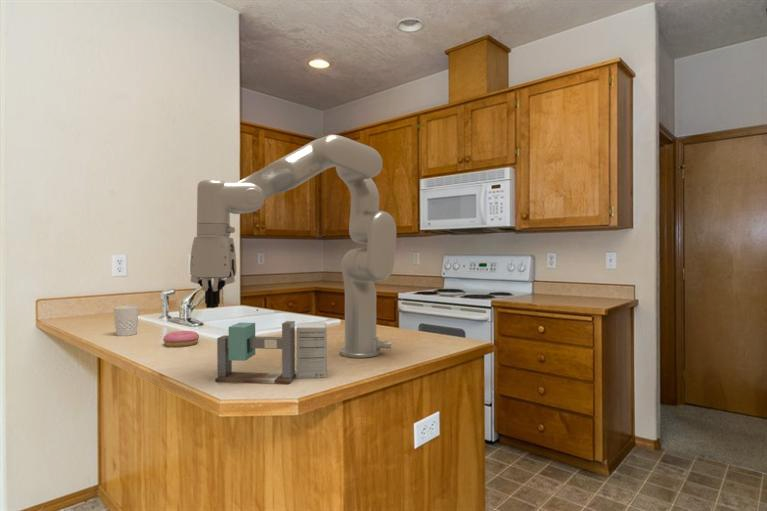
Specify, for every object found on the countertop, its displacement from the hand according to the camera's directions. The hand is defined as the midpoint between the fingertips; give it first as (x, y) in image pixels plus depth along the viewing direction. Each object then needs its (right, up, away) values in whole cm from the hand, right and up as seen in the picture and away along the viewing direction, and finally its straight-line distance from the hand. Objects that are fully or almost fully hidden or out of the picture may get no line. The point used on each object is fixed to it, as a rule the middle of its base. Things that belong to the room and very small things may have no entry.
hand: (212, 307), depth 115 cm
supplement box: (+24, -18, +4) cm, 30 cm away
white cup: (-53, -17, +58) cm, 80 cm away
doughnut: (-25, -17, +41) cm, 51 cm away
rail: (+11, -18, 0) cm, 21 cm away
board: (+11, -18, 0) cm, 21 cm away
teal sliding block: (+7, -9, 0) cm, 12 cm away
